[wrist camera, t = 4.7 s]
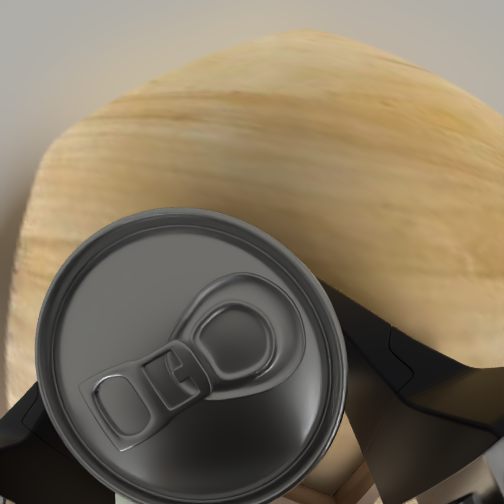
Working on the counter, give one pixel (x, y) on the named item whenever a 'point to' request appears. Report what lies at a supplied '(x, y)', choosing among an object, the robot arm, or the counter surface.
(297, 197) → the counter surface
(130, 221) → the can
